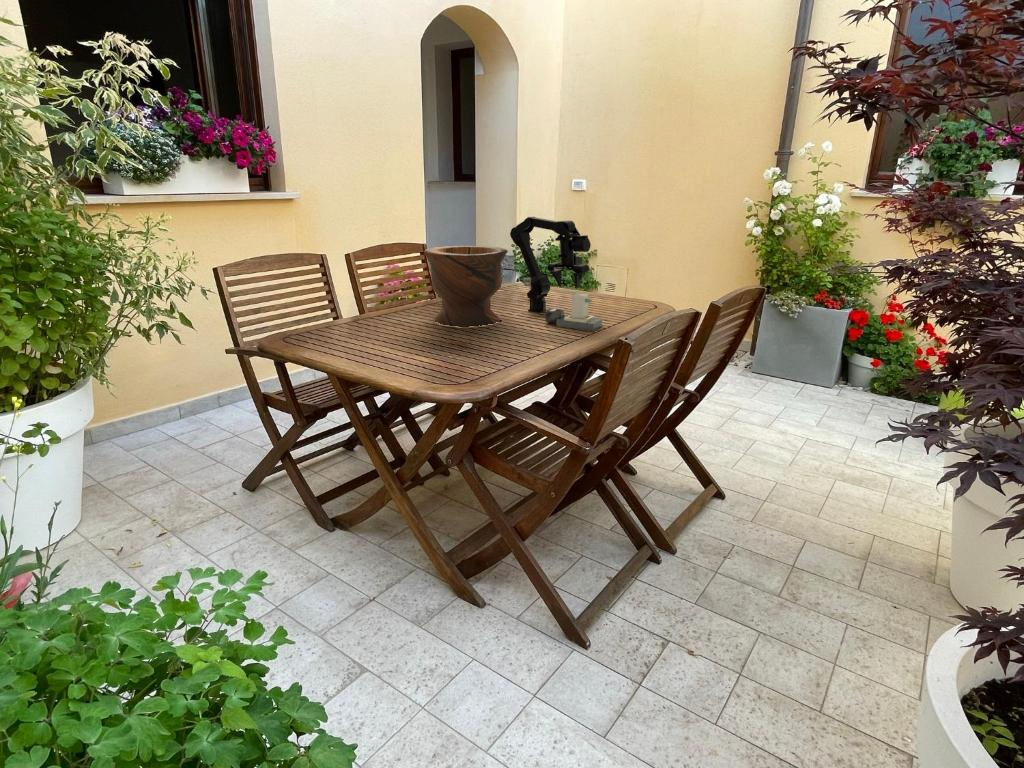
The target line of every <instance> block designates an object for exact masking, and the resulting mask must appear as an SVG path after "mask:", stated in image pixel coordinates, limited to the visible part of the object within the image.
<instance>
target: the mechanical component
mask: <svg viewBox="0 0 1024 768" xmlns="http://www.w3.org/2000/svg"><path fill="white" fill-rule="evenodd" d="M527 281H528V282H527ZM521 282H522V283H523V285H524V287H529V290H531V277H523V278H522V279H521Z"/></svg>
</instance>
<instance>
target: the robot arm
mask: <svg viewBox="0 0 1024 768" xmlns="http://www.w3.org/2000/svg"><path fill="white" fill-rule="evenodd" d="M535 228H539V229H544V230H549V231H553V232H554V234H555V233H556V234H557V237H556V238H555V239H554V241H555V242H559V254H558V258H560V262H558V261H554V262H550V263H548V264H547V266H546V270H547V272H549V273H551V275H552V276H553V278H554V280H555V281H556V283H557V284H558V287H559V288H560V287H562V273H563V270H565V271H566V270H567V271H573V280H574V284H575V289H579V286H580V283H581V281H582V278H583V275H584V274H587V272H589V271H590V266H589V265H588V264H587V263H586V264H585V263H583V259H584V258H583V257H580V256H577V254H576V253H577V252H578V253H588V252H589V251H590V249H591V245H592V244H591V241H590V239H589V236H588V234H587V235H586V234H585V235H581V233H580V231H579V230H578V229H577V227H576V224H575V221H573V220H551V219H546V218H541V217H536V216H528V217H527V218H525V219H524V220H523V221H521V222H520V223H519V224H517V225H516V226H514V227H513V228H511V229H510V232H509V235H510V238H511V240H512V242H513V244H514V245H515V246H517V247H518V248H519V250H520V254H521V256H522V257H523V261H524V263H525V265H526V268H527V271H528V273H529V276H530V278H531V289H529V290H528V292H527V293H526V297H527V299H529V309H527V312H533V313H542V312H546V311H547V306H546V305H547V301H546V298H547V297H548V294H549V293H550V291H551V282H550V280H549V277H548V275H543V273H542V272H541V270H540V267H539V264H538V261H537V259H536V257H535V254H534V251H533V249H532V247H531V245H530V242H531V235H530V234H531V233H532V232H533V230H534V229H535Z"/></svg>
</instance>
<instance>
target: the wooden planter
mask: <svg viewBox="0 0 1024 768" xmlns="http://www.w3.org/2000/svg"><path fill="white" fill-rule="evenodd" d="M423 254H424V255H425V257H426V259H427V260H428V261H429V263H430V273H431V275H430V276H431V289H432V290H433V291H434V292H435V293H436V294H437V295H438V297H440V299H441V307H442V308H441V309H439V312H438V313H437V314H436V316H435V317H434V318H435V322H438V323H440V324H443V325H449V326H459V327H469V326H479V325H480V326H482V325H488V324H494V323H496V322H498V321H500V319H501V317H500V316H499V315H498V314H496V312H494V310H492V309H491V304H492V303H491V298H492V297H493V296H494V295H495V294H496V293H497V292H498V291H500V289H501V287H502V263H503V260H504V259H505V257H506V255H507V254H508V250H507V249H506V248H503V247H498V246H486V245H485V246H484V245H447V246H446V245H445V246H435V247H431V248H426V249H425V250H424V251H423ZM499 317H500V318H499Z"/></svg>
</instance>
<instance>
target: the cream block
mask: <svg viewBox="0 0 1024 768" xmlns="http://www.w3.org/2000/svg"><path fill="white" fill-rule="evenodd" d="M591 303H592V298H589V293H587V294H586V293H574V294H572V295H571V314H572V318H575V319H584V320H585V319H586V318H588V315H589V313H588V312H589V304H591Z"/></svg>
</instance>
